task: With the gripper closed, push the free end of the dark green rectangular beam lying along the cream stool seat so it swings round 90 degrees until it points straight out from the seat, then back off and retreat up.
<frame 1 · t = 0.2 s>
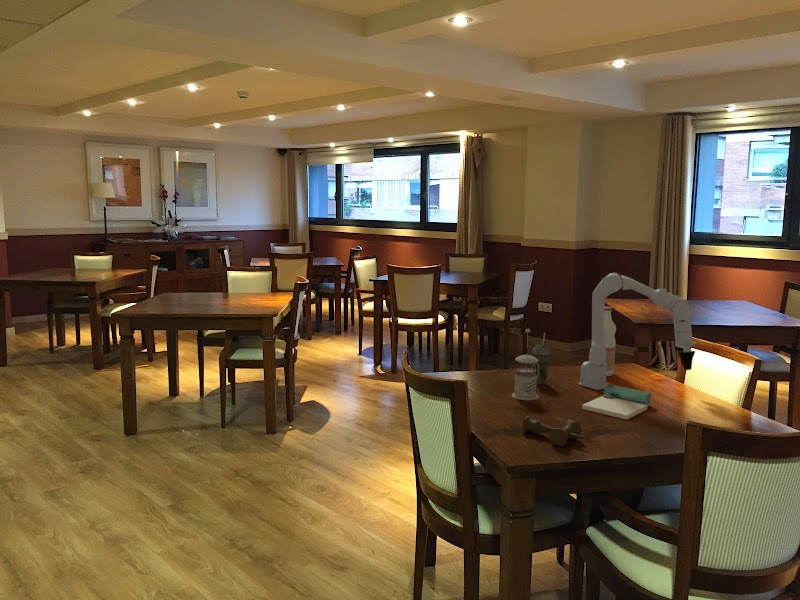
hand: (686, 367, 245), 11 cm above the table, tool pointing down, fingers open, 7 cm apart
kendama: (553, 440, 199), on the table
dark green rectangular beam: (626, 394, 236), point 3 cm above the table, hinge at 0.0°
beverage cup: (539, 383, 260), on the table
french press: (526, 396, 243), on the table
stool seat: (609, 398, 241), on the table
fruit juice: (601, 374, 276), on the table
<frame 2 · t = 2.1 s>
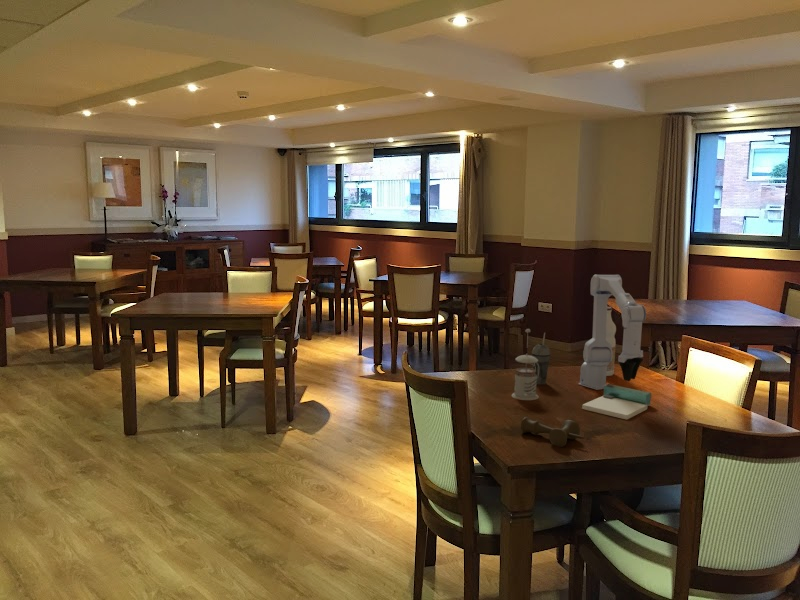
hand: (629, 379, 227), 10 cm above the table, tool pointing down, fingers open, 3 cm apart
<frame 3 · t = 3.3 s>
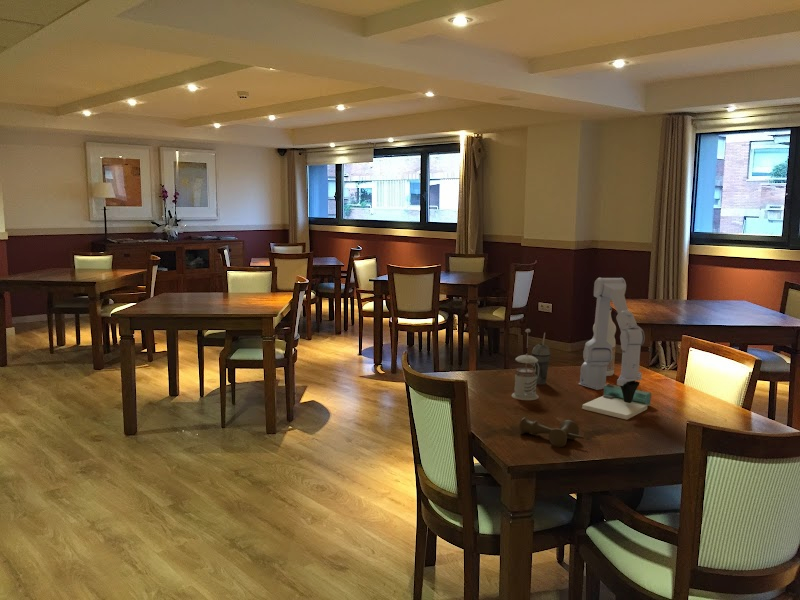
hand: (627, 402, 229), 2 cm above the table, tool pointing down, fingers closed
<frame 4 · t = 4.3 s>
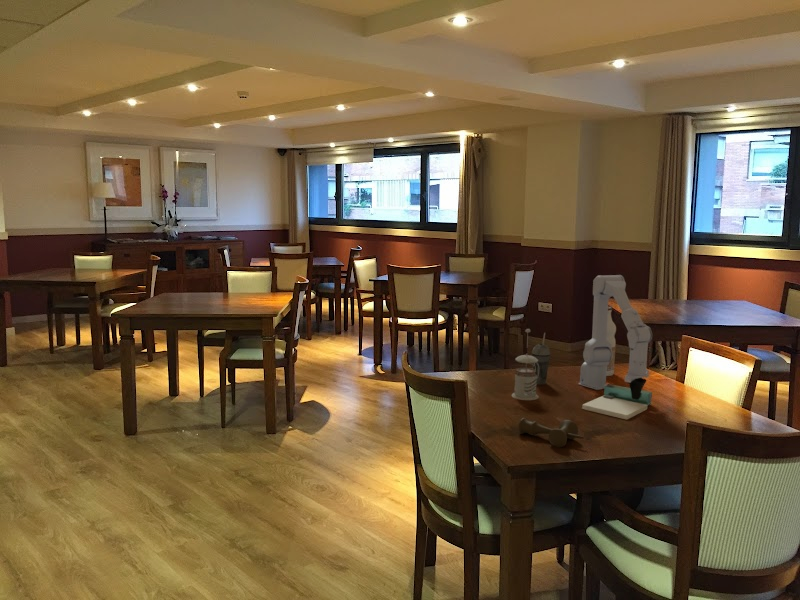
hand: (635, 398, 232), 2 cm above the table, tool pointing down, fingers closed
dark green rectangular beam: (627, 394, 237), point 3 cm above the table, hinge at 5.6°, touching gripper
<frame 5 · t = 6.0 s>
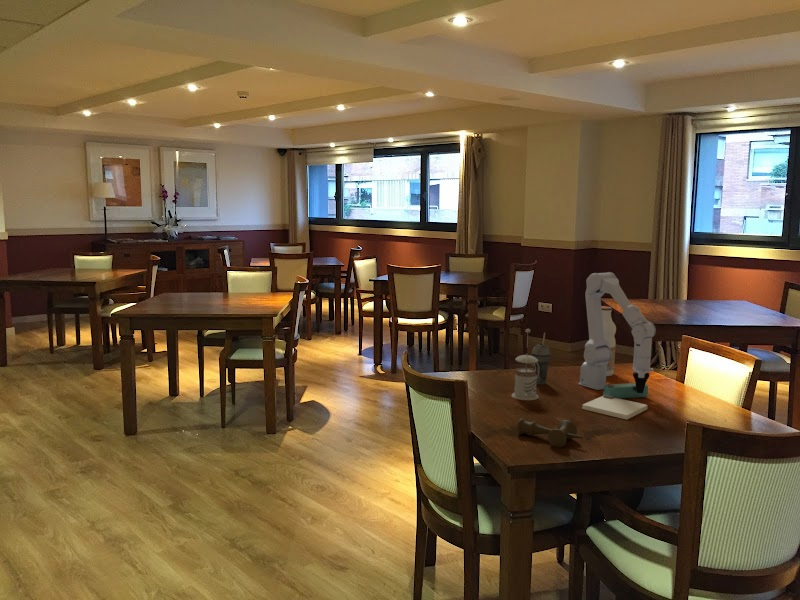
hand: (639, 392, 240), 3 cm above the table, tool pointing down, fingers closed
dark green rectangular beam: (625, 390, 242), point 3 cm above the table, hinge at 56.6°, touching gripper
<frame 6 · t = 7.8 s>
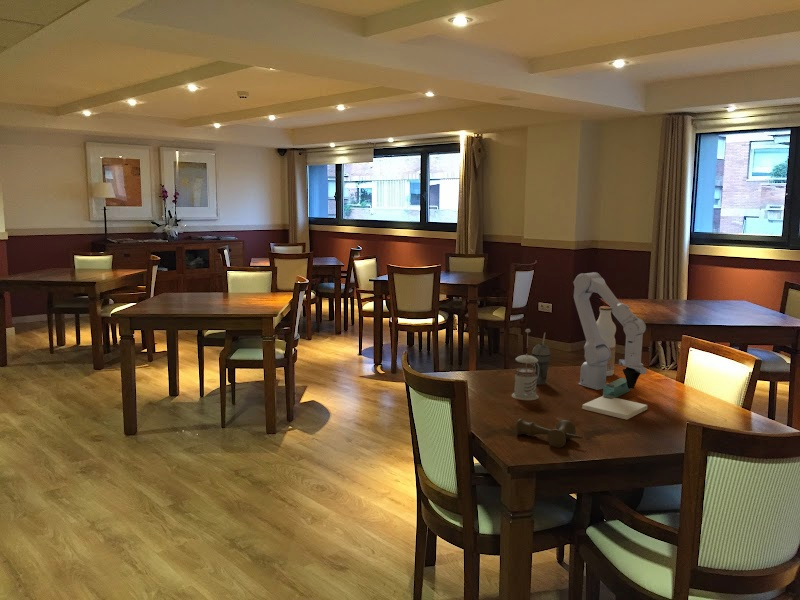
hand: (630, 388, 246), 2 cm above the table, tool pointing down, fingers closed
dark green rectangular beam: (617, 387, 245), point 3 cm above the table, hinge at 92.1°, touching gripper
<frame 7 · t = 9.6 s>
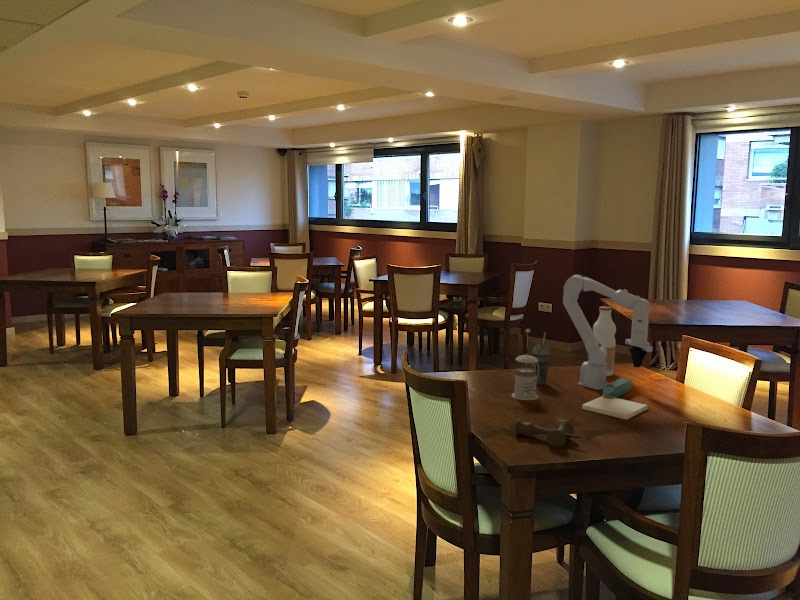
hand: (637, 366, 250), 9 cm above the table, tool pointing down, fingers closed
dark green rectangular beam: (617, 387, 245), point 3 cm above the table, hinge at 92.1°
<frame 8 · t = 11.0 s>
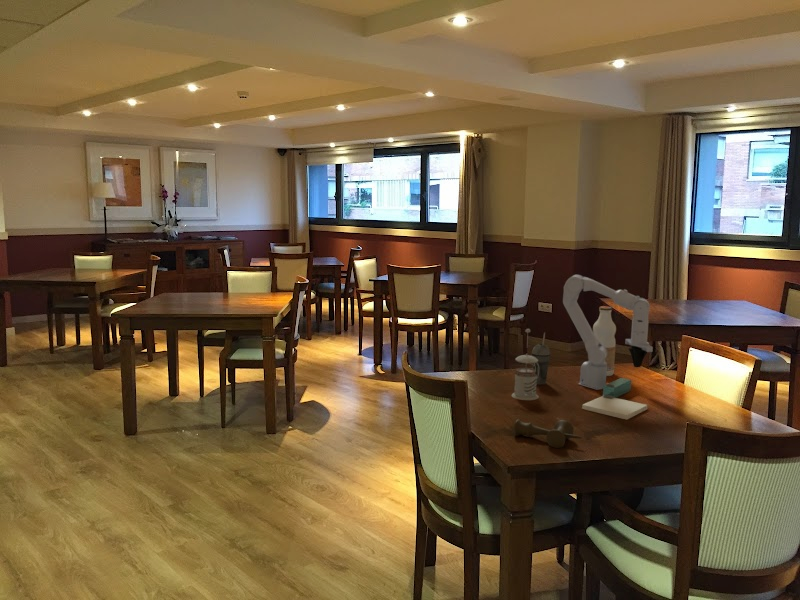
hand: (637, 366, 250), 9 cm above the table, tool pointing down, fingers closed
at the end: dark green rectangular beam at +92° (first picture: +0°) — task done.
